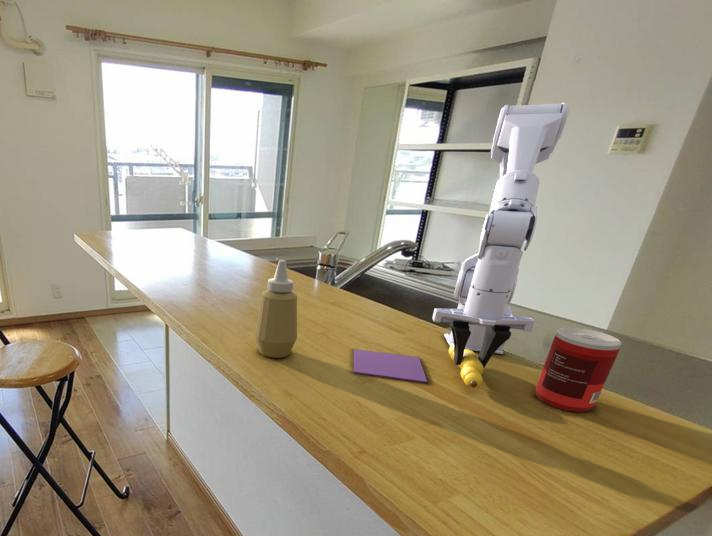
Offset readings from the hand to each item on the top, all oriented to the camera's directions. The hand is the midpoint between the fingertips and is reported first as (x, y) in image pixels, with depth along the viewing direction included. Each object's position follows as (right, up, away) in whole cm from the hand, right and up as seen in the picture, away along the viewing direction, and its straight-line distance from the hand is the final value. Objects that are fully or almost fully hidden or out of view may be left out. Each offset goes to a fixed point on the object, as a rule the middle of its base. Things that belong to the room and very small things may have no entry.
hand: (468, 364), depth 75 cm
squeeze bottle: (-33, +2, +9) cm, 34 cm away
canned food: (+11, -6, -7) cm, 14 cm away
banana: (0, -1, 0) cm, 1 cm away
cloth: (-12, 0, +4) cm, 13 cm away
